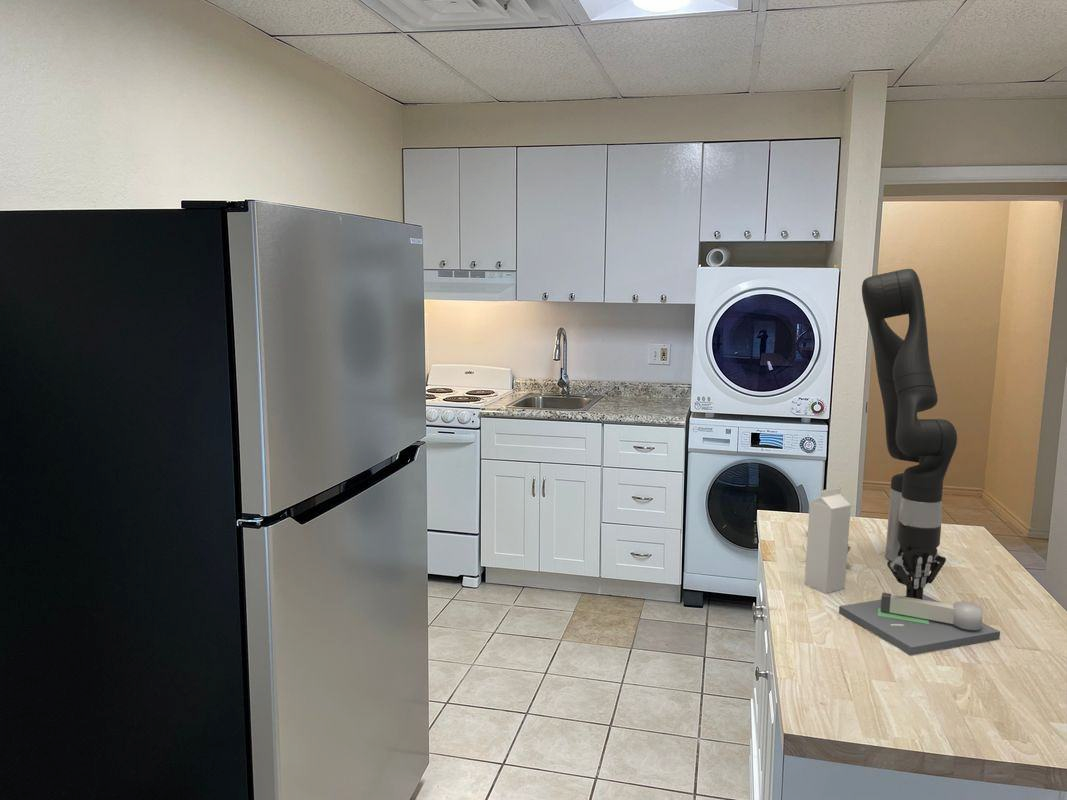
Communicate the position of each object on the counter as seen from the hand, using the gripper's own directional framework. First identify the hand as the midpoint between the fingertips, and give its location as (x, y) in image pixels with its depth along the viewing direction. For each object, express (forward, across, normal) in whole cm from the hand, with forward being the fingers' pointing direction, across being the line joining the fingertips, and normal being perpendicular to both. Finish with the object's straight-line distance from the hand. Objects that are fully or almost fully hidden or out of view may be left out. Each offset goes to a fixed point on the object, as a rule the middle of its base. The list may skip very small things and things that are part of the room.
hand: (913, 604), depth 159 cm
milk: (+3, +6, -19) cm, 20 cm away
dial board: (+3, +2, +3) cm, 4 cm away
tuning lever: (+1, 0, +4) cm, 4 cm away
